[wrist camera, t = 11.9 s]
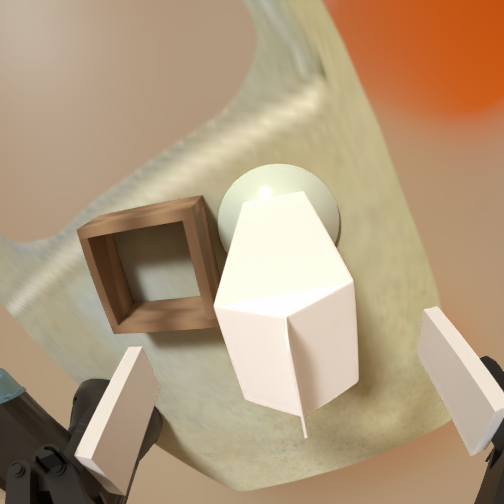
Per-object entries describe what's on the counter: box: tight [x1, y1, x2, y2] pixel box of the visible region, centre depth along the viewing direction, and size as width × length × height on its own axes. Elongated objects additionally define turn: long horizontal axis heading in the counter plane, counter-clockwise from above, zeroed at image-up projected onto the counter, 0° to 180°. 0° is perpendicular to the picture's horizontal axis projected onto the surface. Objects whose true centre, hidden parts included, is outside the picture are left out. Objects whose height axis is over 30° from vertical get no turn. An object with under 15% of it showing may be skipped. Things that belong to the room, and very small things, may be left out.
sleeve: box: [77, 195, 220, 334], centre depth 32 cm, size 12×12×5 cm
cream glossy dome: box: [218, 163, 339, 254], centre depth 32 cm, size 12×12×1 cm
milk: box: [214, 191, 359, 439], centre depth 21 cm, size 6×6×22 cm
